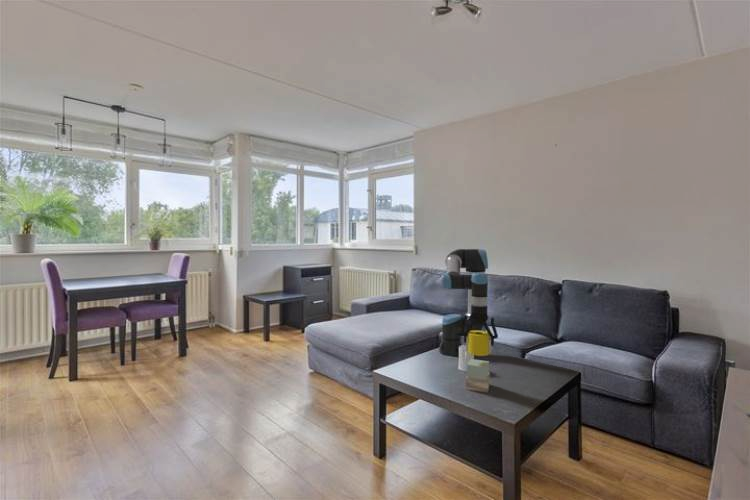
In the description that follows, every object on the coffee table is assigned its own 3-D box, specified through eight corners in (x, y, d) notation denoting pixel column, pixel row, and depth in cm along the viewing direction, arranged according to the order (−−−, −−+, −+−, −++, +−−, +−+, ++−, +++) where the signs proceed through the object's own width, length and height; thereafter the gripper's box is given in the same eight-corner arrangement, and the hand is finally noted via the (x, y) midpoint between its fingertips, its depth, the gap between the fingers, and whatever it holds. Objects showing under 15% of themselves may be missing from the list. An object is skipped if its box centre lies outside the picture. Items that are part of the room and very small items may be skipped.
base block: (469, 381, 186) (469, 370, 186) (489, 385, 182) (489, 373, 182) (465, 389, 177) (466, 377, 177) (487, 393, 173) (487, 380, 173)
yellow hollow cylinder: (486, 357, 172) (486, 337, 171) (465, 353, 177) (465, 334, 177) (491, 351, 180) (492, 332, 180) (471, 348, 186) (471, 329, 185)
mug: (472, 374, 195) (472, 352, 194) (456, 372, 198) (456, 350, 197) (475, 367, 205) (475, 346, 205) (459, 365, 209) (459, 344, 208)
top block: (470, 370, 185) (470, 358, 185) (488, 373, 181) (489, 361, 181) (466, 377, 177) (467, 364, 177) (486, 380, 173) (486, 367, 173)
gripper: (454, 304, 179) (453, 350, 180) (503, 308, 170) (502, 356, 171) (457, 302, 186) (456, 345, 187) (504, 305, 177) (503, 351, 178)
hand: (478, 350), depth 179 cm, fingers closed on yellow hollow cylinder, 10 cm apart
